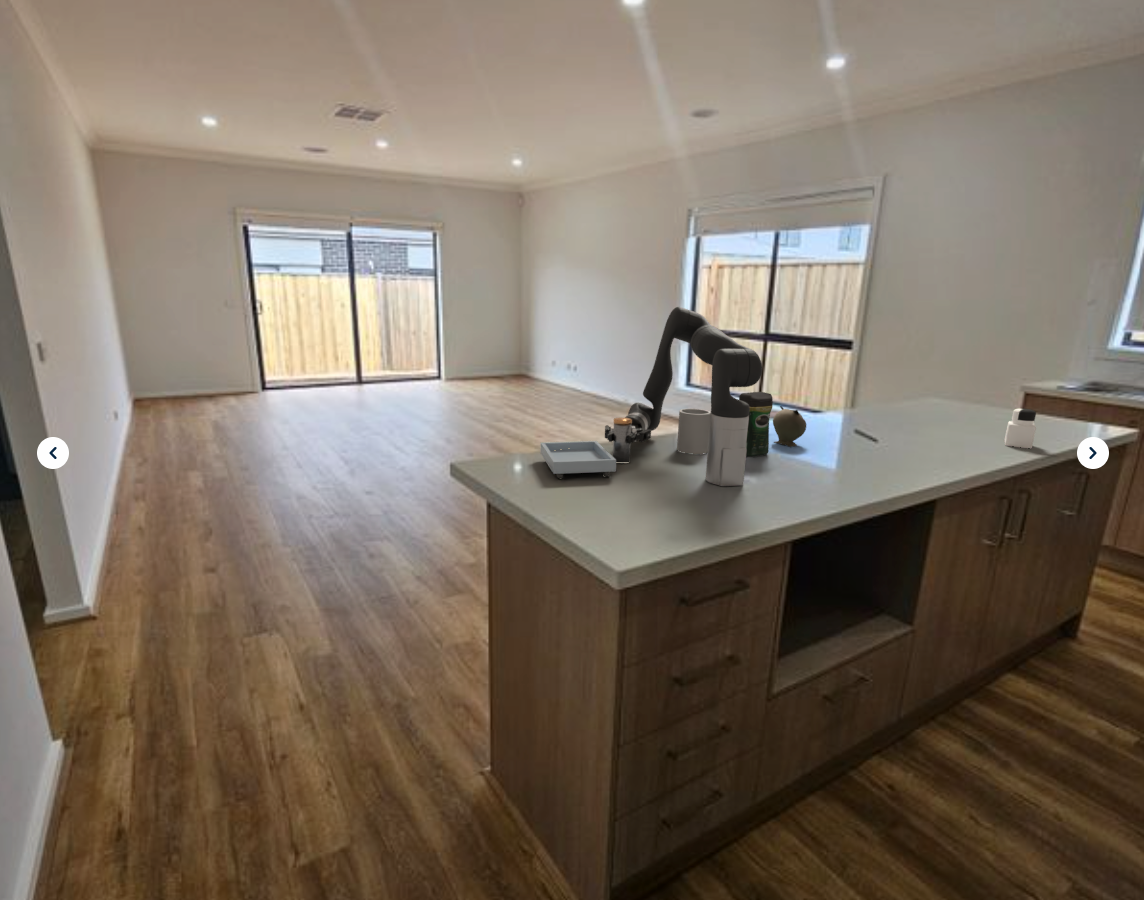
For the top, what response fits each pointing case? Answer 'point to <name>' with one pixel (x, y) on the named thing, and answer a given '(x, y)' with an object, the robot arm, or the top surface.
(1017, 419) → the medicine bottle
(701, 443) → the cup
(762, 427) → the coffee jar
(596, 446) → the dolly
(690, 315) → the robot arm
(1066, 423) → the top surface
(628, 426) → the canister
